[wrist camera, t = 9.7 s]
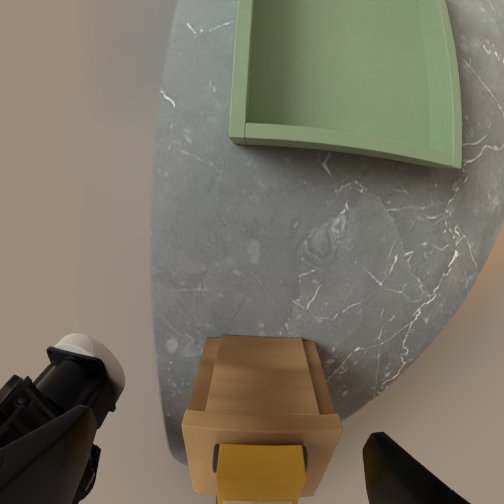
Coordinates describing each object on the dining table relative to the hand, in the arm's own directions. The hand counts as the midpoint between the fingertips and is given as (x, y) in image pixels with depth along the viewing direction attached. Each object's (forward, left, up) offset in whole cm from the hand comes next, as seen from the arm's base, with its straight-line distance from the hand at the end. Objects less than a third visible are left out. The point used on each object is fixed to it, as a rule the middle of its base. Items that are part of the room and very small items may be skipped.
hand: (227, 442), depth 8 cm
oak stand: (+1, -8, -13) cm, 15 cm away
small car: (+1, -8, -4) cm, 9 cm away
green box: (+6, +18, -13) cm, 23 cm away
